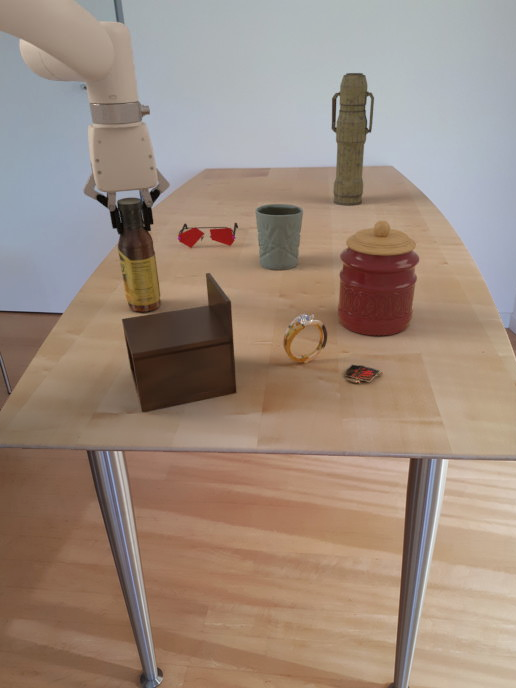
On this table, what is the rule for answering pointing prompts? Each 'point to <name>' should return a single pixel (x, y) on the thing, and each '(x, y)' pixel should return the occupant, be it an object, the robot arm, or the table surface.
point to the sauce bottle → (137, 258)
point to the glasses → (195, 234)
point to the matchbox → (361, 373)
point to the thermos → (351, 137)
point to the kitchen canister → (377, 281)
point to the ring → (303, 321)
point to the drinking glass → (279, 235)
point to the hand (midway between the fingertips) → (133, 229)
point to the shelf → (183, 352)
